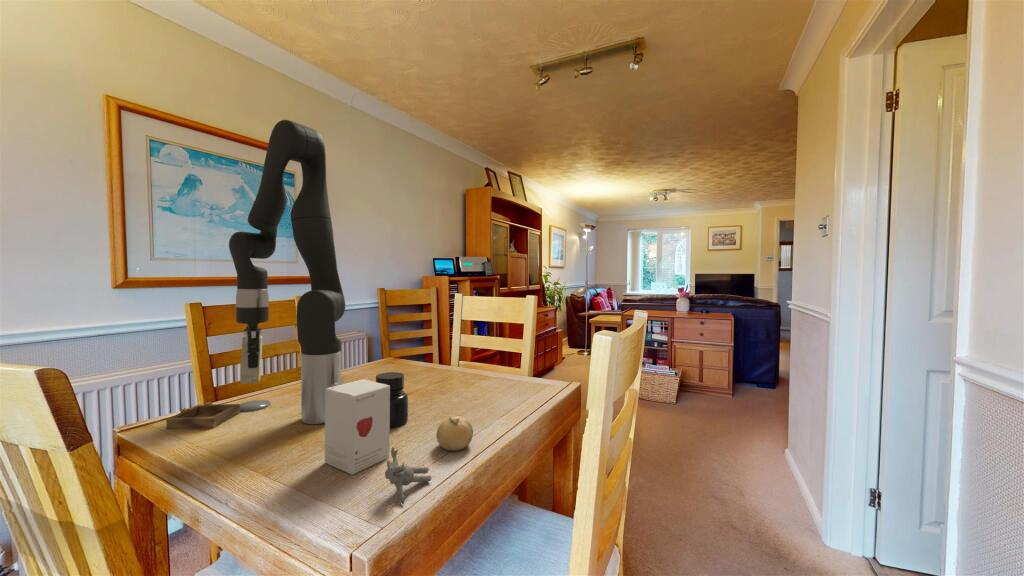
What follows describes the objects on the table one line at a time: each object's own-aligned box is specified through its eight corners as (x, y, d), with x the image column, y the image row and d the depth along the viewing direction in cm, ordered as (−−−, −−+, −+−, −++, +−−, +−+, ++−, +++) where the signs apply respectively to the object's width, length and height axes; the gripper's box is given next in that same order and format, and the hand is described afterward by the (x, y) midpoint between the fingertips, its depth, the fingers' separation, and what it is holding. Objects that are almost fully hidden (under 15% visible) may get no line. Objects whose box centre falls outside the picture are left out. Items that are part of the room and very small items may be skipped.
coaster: (275, 401, 112) (275, 399, 112) (260, 411, 104) (260, 409, 104) (246, 402, 111) (246, 400, 111) (228, 412, 103) (228, 409, 103)
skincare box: (258, 383, 105) (261, 338, 105) (238, 384, 103) (242, 338, 103) (260, 378, 110) (263, 335, 110) (242, 378, 108) (245, 335, 108)
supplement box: (351, 476, 71) (352, 396, 70) (323, 463, 76) (323, 388, 75) (391, 457, 79) (391, 384, 78) (362, 446, 83) (363, 378, 83)
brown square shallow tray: (240, 412, 102) (240, 401, 102) (213, 428, 92) (213, 415, 92) (197, 413, 101) (197, 402, 101) (166, 429, 91) (165, 416, 91)
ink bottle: (373, 416, 101) (373, 371, 100) (408, 414, 103) (408, 369, 103) (369, 431, 91) (369, 381, 91) (407, 428, 94) (407, 379, 93)
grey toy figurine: (445, 494, 66) (401, 496, 60) (423, 512, 68) (378, 515, 61) (431, 441, 73) (390, 437, 66) (412, 458, 74) (370, 456, 68)
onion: (428, 447, 84) (428, 414, 83) (456, 436, 90) (456, 405, 89) (452, 459, 78) (453, 424, 78) (480, 446, 84) (481, 414, 84)
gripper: (270, 306, 103) (270, 368, 103) (266, 303, 114) (266, 359, 115) (236, 307, 98) (235, 372, 99) (235, 303, 110) (235, 361, 110)
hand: (252, 365), depth 107 cm, fingers closed on skincare box, 6 cm apart
